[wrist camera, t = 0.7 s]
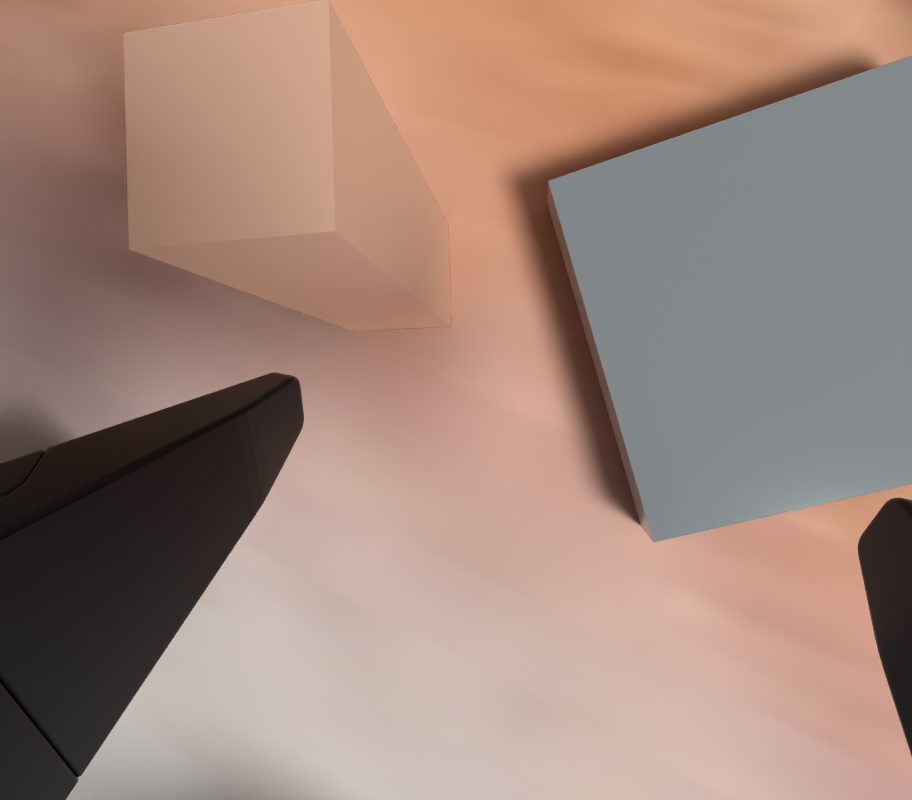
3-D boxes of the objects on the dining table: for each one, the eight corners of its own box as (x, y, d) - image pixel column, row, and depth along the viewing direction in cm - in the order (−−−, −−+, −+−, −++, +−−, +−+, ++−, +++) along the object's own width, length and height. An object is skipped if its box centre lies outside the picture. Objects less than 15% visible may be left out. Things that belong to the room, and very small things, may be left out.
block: (451, 326, 23) (335, 231, 10) (353, 331, 24) (129, 249, 11) (448, 223, 23) (328, -2, 10) (350, 232, 24) (123, 32, 11)
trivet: (640, 525, 22) (653, 542, 19) (547, 205, 22) (548, 180, 20) (1020, 438, 19) (1090, 443, 17) (905, 84, 20) (956, 40, 18)
